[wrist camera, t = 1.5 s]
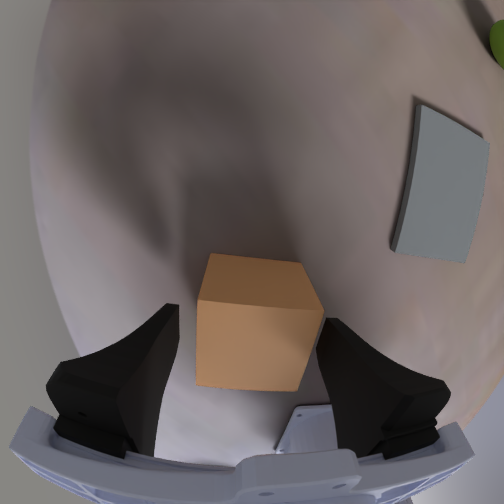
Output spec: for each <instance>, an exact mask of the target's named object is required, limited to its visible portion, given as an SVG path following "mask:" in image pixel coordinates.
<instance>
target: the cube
mask: <svg viewBox="0 0 504 504" xmlns="http://www.w3.org/2000/svg"><path fill="white" fill-rule="evenodd" d="M323 314H324V309H323V307H322V304H321V302H320V300H319V298H318V296H317V294H316V292H315V290H314V288H313V286H312V284H311V282H310V280H309V278H308V276H307V274H306V272H305V270H304V268H303V266H302V264H301V263H298V262H289V261H280V260H271V259H261V258H252V257H243V256H234V255H225V254H216V253H211V254H210V257H209V260H208V264H207V268H206V271H205V275H204V278H203V282H202V285H201V289H200V293H199V296H198V302H197V332H196V385H198V386H206V387H215V388H226V389H238V390H254V391H297V390H298V387H299V384H300V382H301V379H302V376H303V374H304V371H305V368H306V365H307V363H308V360H309V357H310V354H311V351H312V348H313V345H314V342H315V339H316V336H317V333H318V330H319V327H320V324H321V321H322V318H323Z"/></svg>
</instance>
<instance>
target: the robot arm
mask: <svg viewBox="0 0 504 504" xmlns="http://www.w3.org/2000/svg"><path fill="white" fill-rule="evenodd" d="M179 338H180V335H179V305H177V304H169V303H166V304H165V305H164V306H163V307H162V308H161V309H160V310H158V311H157V312H156V313H155V314H154V315H153V316H152V317H151V318H150V319H148V320H147V321H146V322H145V323H144V324H143V325H141V326H140V327H139V328H137V329H136V330H135V331H133V332H132V333H131V334H129V335H128V336H126V337H125V338H123V339H121V340H120V341H118V342H116V343H114V344H112V345H110V346H108V347H106V348H104V349H102V350H100V351H97V352H95V353H92V354H89V355H86V356H83V357H80V358H76V359H72V360H68V361H63V362H60V364H59V365H58V367H57V368H56V369H55V371H54V373H53V374H52V376H51V377H50V379H49V381H48V382H47V384H46V391H47V393H48V395H49V398H50V399H51V401H52V403H53V404H54V406H55V408H56V410H57V411H58V413H59V414H60V415H59V417H58V419H57V420H56V419H55V418H53V417H52V416H51V415H49V414H47V413H45V412H43V411H40V410H39V409H36V408H35V407H33V406H30V407H29V409H28V411H27V413H26V414H25V416H24V418H23V420H22V422H21V424H20V426H19V427H18V429H17V431H16V433H15V435H14V437H13V439H12V441H11V444H10V445H9V448H10V450H11V451H12V452H14V454H16V456H17V457H19V458H20V459H21V460H22V461H23V462H24V463H25V464H26V465H27V466H28V467H29V468H31V469H32V470H33V471H34V472H35V473H36V474H38V475H40V476H41V477H43V478H45V479H47V480H49V481H50V482H52V483H54V484H56V485H58V486H60V487H62V488H64V489H66V490H68V491H70V492H72V493H75V494H77V495H79V496H81V497H83V498H85V499H88V500H90V501H92V502H95V503H97V504H413V502H412V500H411V496H413V495H415V494H418V493H419V492H422V491H424V490H426V489H428V488H430V487H432V486H434V485H436V484H438V483H440V482H442V481H443V480H445V479H447V478H448V477H449V476H451V475H452V474H453V473H455V472H456V471H457V470H458V469H460V468H461V467H462V466H464V465H465V464H466V463H467V462H468V461H469V460H471V459H472V458H473V457H474V456H475V454H474V452H473V450H472V448H471V446H470V444H469V443H468V441H467V439H466V437H465V435H464V434H463V432H462V430H461V428H460V427H459V425H458V423H457V422H453V423H451V424H448V425H446V426H443V427H441V428H440V429H438V430H436V428H435V426H436V425H437V421H436V419H435V417H436V416H437V415H438V414H439V413H440V411H441V410H442V409H443V408H444V407H445V405H446V404H447V402H448V401H449V398H450V396H451V392H450V390H449V388H448V387H447V385H446V384H445V382H444V381H443V380H440V379H436V378H432V377H429V376H425V375H423V374H420V373H417V372H415V371H412V370H410V369H408V368H406V367H404V366H402V365H400V364H398V363H396V362H394V361H393V360H391V359H389V358H388V357H386V356H384V355H383V354H381V353H380V352H379V351H377V350H376V349H374V348H373V347H372V346H370V345H369V344H368V343H367V342H365V341H364V340H363V339H362V338H361V337H359V336H358V335H357V334H356V333H355V332H354V331H352V330H351V329H350V328H349V327H348V326H347V325H345V324H344V323H343V322H342V321H340V320H339V319H338V318H326V320H325V323H324V326H323V329H322V332H321V335H320V338H319V341H318V344H317V346H316V353H317V359H318V364H319V368H320V371H321V374H322V377H323V380H324V383H325V386H326V389H327V392H328V395H329V398H330V401H331V405H314V406H299V407H296V408H295V409H294V412H293V414H292V416H291V419H290V421H289V423H288V425H287V427H286V430H285V432H284V434H283V436H282V438H281V440H280V442H279V444H278V447H277V449H276V451H275V454H266V455H256V456H252V457H249V458H246V459H243V460H242V461H241V462H240V463H239V464H238V465H236V467H220V466H208V465H199V464H191V463H184V462H177V461H171V460H166V459H160V458H155V457H154V449H155V440H156V433H157V426H158V419H159V413H160V408H161V403H162V397H163V394H164V390H165V387H166V384H167V381H168V378H169V375H170V372H171V369H172V366H173V363H174V360H175V357H176V353H177V348H178V343H179Z"/></svg>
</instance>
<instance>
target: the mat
mask: <svg viewBox="0 0 504 504" xmlns="http://www.w3.org/2000/svg"><path fill="white" fill-rule="evenodd" d="M489 146H490V143H488V142H487V141H485V140H484V139H482V138H481V137H479V136H478V135H476V134H475V133H473V132H471V131H470V130H468V129H467V128H465V127H463V126H462V125H460V124H458V123H456V122H455V121H453V120H451V119H449V118H447V117H445V116H444V115H442V114H440V113H438V112H436V111H434V110H432V109H430V108H428V107H426V106H424V105H416V114H415V125H414V134H413V142H412V150H411V156H410V163H409V169H408V175H407V180H406V186H405V191H404V196H403V201H402V205H401V210H400V214H399V218H398V222H397V226H396V230H395V234H394V238H393V242H392V245H391V250H392V251H394V252H395V253H401V254H407V255H414V256H421V257H428V258H434V259H441V260H447V261H454V262H460V263H465V261H466V258H467V255H468V252H469V249H470V245H471V242H472V238H473V235H474V231H475V227H476V224H477V219H478V215H479V211H480V206H481V202H482V197H483V191H484V185H485V179H486V173H487V165H488V157H489Z"/></svg>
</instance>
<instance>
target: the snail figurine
mask: <svg viewBox="0 0 504 504" xmlns="http://www.w3.org/2000/svg"><path fill="white" fill-rule="evenodd" d="M489 41H490V46H491V50H492V52H493V55H494V57H495V58H496V60H497V62H498V63H499V65H500V66H501V67H502V68H503V69H504V20H500V21H497V22H496V23H495V24H494V25H493V26H492V28H491V30H490V34H489Z"/></svg>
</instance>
